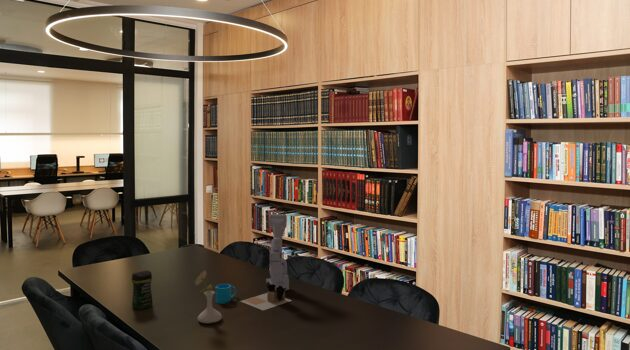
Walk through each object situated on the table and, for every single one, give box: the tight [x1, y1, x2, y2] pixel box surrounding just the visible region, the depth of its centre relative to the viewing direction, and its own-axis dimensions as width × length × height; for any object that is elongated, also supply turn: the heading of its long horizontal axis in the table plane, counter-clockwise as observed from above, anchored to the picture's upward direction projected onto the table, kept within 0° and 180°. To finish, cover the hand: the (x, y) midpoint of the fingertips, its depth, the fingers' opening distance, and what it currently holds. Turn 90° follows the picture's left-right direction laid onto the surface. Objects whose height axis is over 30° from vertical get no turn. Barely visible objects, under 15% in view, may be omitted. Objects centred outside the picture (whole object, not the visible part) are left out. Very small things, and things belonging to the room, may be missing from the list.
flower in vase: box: [194, 270, 223, 324], centre depth 217 cm, size 13×11×25 cm
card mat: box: [240, 292, 293, 311], centre depth 244 cm, size 20×19×1 cm
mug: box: [215, 283, 237, 305], centre depth 247 cm, size 12×8×8 cm
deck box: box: [266, 290, 286, 304], centre depth 244 cm, size 8×5×5 cm, turn 136°
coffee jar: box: [131, 270, 153, 310], centre depth 236 cm, size 10×8×19 cm
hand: (276, 298), depth 244 cm, fingers open, 6 cm apart
